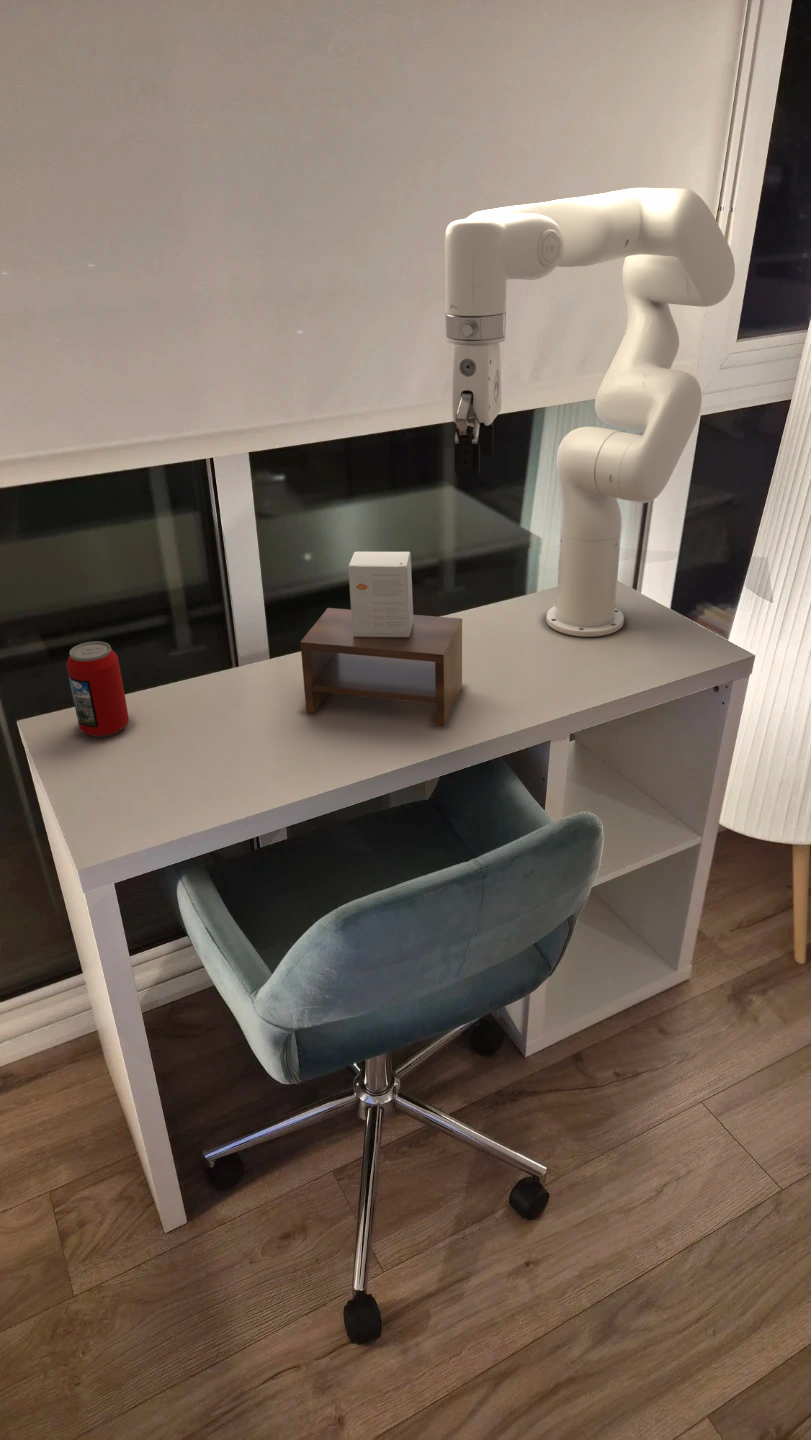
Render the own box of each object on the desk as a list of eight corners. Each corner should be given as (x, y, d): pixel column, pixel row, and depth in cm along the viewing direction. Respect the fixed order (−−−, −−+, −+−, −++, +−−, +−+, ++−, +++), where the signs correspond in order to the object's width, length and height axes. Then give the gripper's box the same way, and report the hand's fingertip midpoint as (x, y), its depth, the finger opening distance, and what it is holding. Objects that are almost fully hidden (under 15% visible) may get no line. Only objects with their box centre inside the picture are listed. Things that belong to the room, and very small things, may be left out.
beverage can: (76, 722, 146) (60, 644, 140) (125, 712, 148) (111, 635, 142) (83, 744, 140) (67, 664, 134) (134, 733, 142) (120, 654, 137)
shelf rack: (332, 675, 157) (327, 607, 151) (462, 687, 152) (462, 618, 147) (306, 712, 146) (300, 641, 141) (444, 727, 142) (443, 654, 136)
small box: (413, 622, 146) (412, 550, 141) (410, 638, 141) (408, 565, 136) (357, 621, 147) (353, 550, 142) (351, 637, 142) (347, 565, 137)
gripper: (492, 340, 122) (490, 483, 130) (516, 318, 137) (512, 448, 145) (430, 339, 124) (432, 480, 132) (460, 317, 138) (460, 445, 147)
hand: (474, 463), depth 138 cm, fingers open, 9 cm apart
